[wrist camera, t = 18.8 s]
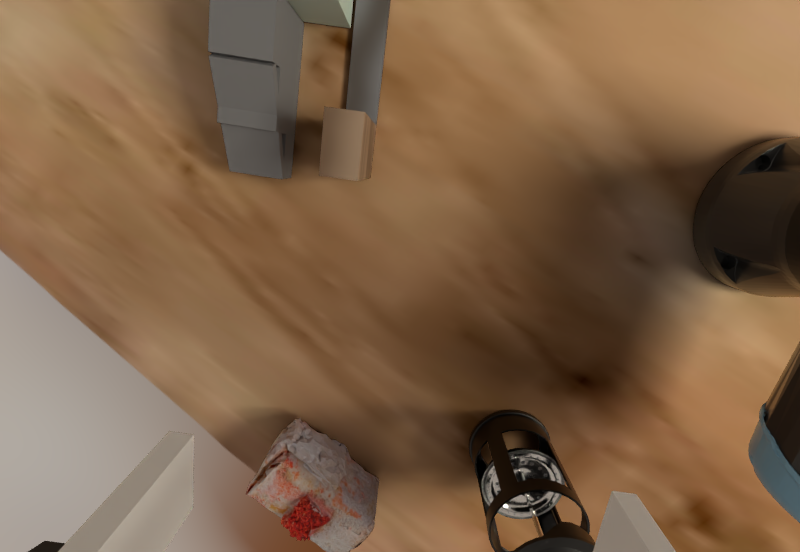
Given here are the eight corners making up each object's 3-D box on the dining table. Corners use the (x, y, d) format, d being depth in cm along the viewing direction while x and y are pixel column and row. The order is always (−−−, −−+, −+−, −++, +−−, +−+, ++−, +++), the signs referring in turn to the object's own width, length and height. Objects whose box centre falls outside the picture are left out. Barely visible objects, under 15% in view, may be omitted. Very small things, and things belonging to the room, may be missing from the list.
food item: (260, 447, 50) (224, 513, 40) (300, 403, 48) (273, 461, 39) (348, 510, 52) (334, 587, 42) (390, 470, 50) (384, 540, 41)
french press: (449, 432, 49) (481, 655, 26) (518, 390, 47) (614, 590, 25) (504, 501, 51) (575, 761, 29) (571, 463, 49) (703, 708, 27)
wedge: (304, 24, 38) (277, -12, 31) (291, 178, 42) (264, 180, 34) (251, 15, 38) (210, -23, 31) (242, 170, 42) (204, 171, 34)
